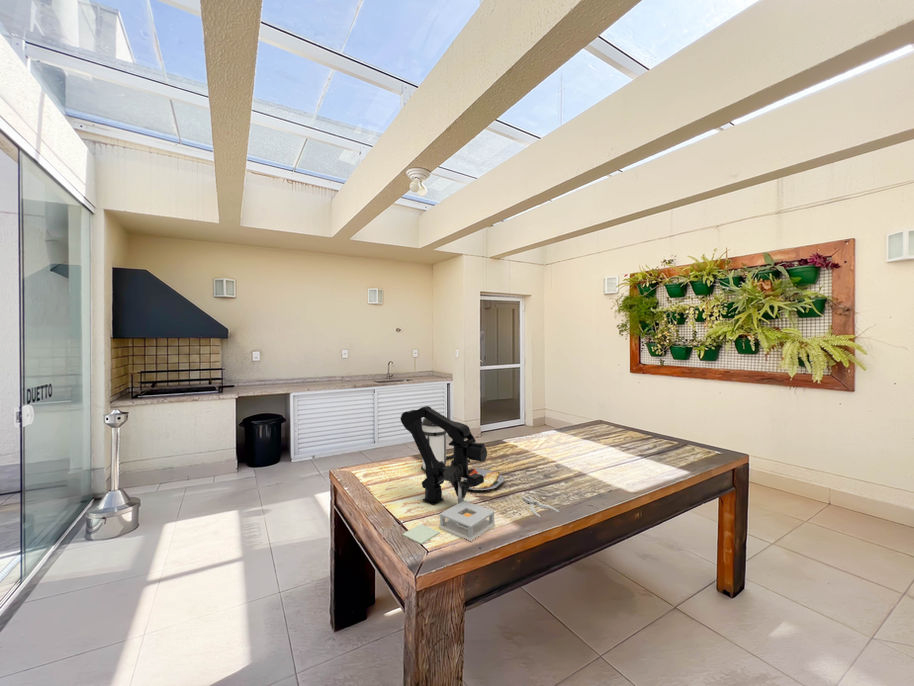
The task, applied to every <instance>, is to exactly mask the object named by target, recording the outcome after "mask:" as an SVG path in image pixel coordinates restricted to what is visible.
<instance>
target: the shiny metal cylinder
mask: <svg viewBox="0 0 914 686" xmlns="http://www.w3.org/2000/svg"><path fill="white" fill-rule="evenodd" d="M461 482H463V480H462V481H458V496H457V504H458V503H460V502H462V501H465V498H462V485H461V484H460V483H461Z"/></svg>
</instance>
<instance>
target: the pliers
mask: <svg viewBox="0 0 914 686" xmlns="http://www.w3.org/2000/svg"><path fill="white" fill-rule="evenodd" d="M522 501H523V502H524V503H526V504H529V506H530V511H531V512H532V514H534V515H535V516H537V518H541V517H542V516H541V515H540V514H539V513H537V511H538V508H536V509H535V505H536V506H537V507H539V508H540V509H550V510H552V511H554V512H556V513H560V510H558V508H555V507H553V506H550V505H548V504H543V503H540V502H539V501H538V500H537V499H534V498H533V497H531V496H530V495H528V496H527V497H524V496H523V497H522Z"/></svg>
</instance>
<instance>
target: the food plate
mask: <svg viewBox="0 0 914 686" xmlns="http://www.w3.org/2000/svg"><path fill="white" fill-rule="evenodd" d="M469 470H470V473H468V475H472V474H474V473H476V474H480V475H483V477H484V482H483V483H482V484H480V485H478V486H473V488H472V486H471V485H470V487H469V489H468V490H473V491H484V490H485V491H487V490H490V489H491V490H492V489H496V488H497V487H499V486H501V484H502V483H504V482H505V481H506V478H505V477H504V476H503V475H502V473H501V471H494V470H490V469H485V468H470V469H469Z"/></svg>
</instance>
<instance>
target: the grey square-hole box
mask: <svg viewBox="0 0 914 686" xmlns="http://www.w3.org/2000/svg"><path fill="white" fill-rule="evenodd" d="M468 511H469V512H468ZM465 513H469V514H471V516H470V517H467V516H464V514H465ZM495 513H496V512H495V510H493V509H489V508H486V507H484V506H481V505H478V504H475V503H472V502H469V501H466V500H464V501H462V502H460V503H458V502H457V503H456V504H455V505H453V506H451V507H449V508H447V509H445V510H444V511H442V512H440V513H439V515H438V516H439V525H438V526H439V527H438V528H439V529H441V530H443V531H446V532H448V533H450V534H451V535H455V536H456V537H459V538H461V537H462V539H464V538H465V539H464V540H466V539H467V540H466V541H468V540H470V541H471V542H473V541H474V540H476V539H478V538H479V537H481V534H482V535H483V534H485V533H486V532H487V531H489V530H491V528H493V527H494V526H495V525H496V523H495ZM488 518H489V519H488ZM446 519H447V520H446ZM478 536H479V537H478ZM475 538H476V539H475ZM472 540H473V541H472ZM470 541H469V542H470Z"/></svg>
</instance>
